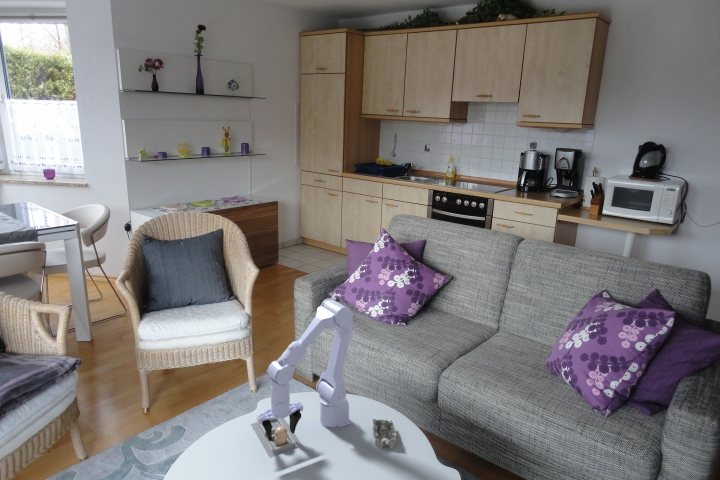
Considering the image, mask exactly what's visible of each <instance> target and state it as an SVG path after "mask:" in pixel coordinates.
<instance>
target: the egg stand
mask: <svg viewBox="0 0 720 480" xmlns="http://www.w3.org/2000/svg"><path fill="white" fill-rule="evenodd" d="M270 422H271V425H272V433H271V434H272V441H270V442H269V440H268V438H267V434H266V431H265V429H264V427H263V425H262V424H259V423H258V421H256V422H253V423H250V426H251V428H252V430H253V431H254V433H255V434H256V436H257V438H258V440H259V441H260V444H261V445H262V447H263V449H264V450H265V452H266V454H267V456H268V457H269V458H272V457H276V456H279V455H280V454H284V453H287V452H290V451H292V450H296V449H297V448H300V447H304V446H303V443H302V442H301V441H300V439H299V438H298V437H297V434H296V433H295V432H294V433H293V434H292V432H291V431H290V424H289V423H288V422H287V421H286V418H281V419H271V420H270ZM278 427H284V428H286V430H287V444H286V445H283V446H280V447H277V446H276V445H275V430H276V429H277V428H278Z"/></svg>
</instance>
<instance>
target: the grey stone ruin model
mask: <svg viewBox="0 0 720 480" xmlns="http://www.w3.org/2000/svg"><path fill="white" fill-rule="evenodd" d="M378 428H379V430H380V431H379V433H380V436H382V437H385V438H382V439H381V440H380V439H379V433H378ZM388 428H389V429H390V430H389V431H390V433H389V434H390V436H391V439H390V440H389V439H388V438H386V436H388ZM372 435H373V438H374V445H375V446H377V447H379V448H380V449H383V447H384V446H387V447H389V448H391V449H392V448H393V447H394V446H396V444H397V431H396V426H395V425H394V422H393V420H388V419H385V420H384V419H375V418H373V420H372Z"/></svg>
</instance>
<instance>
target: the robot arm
mask: <svg viewBox="0 0 720 480" xmlns="http://www.w3.org/2000/svg"><path fill="white" fill-rule="evenodd" d="M353 318H354V312H353V311H352V309H350V308H349V307H348V306H345V305H343V304H342V303H340V302H338V301H336V300H335V299H333V298H331V297H329V298H325V299H324V300H323V301H322V303H321V304H320V306H318V307H317V310H316V314H315V317H314V318H313V319H312V321H311V323H310V324H309V325H308V326H307V328H306V329H305V331H304V332H303V334H301V337H299V339H298V340H295V341H291V343H289V345H288V346H287V347H286V349H285V350H284V351H283V353H282V354H281V355H280V357H279V358H278V359H276V360H272V362H271V363H270V364H269V366H268V367H267V369H266V371H265V372H266V375H268V377H269V379H270V380H269V381H270V408H269V409H268V410H265V411H264V412H262V413H261V414H259V415H256V422H258V423H259V424H262V425H263V427H264V429H265V431H266V434H267V438H268V440H269V442H270V441H272V434H271V433H272V425H271V422H270V420H271V419H281V418H284V419H286V418H287V417H289V426H290V431H291V432H292V434H293V433H294V434H295V432H296V429H297V425H298V423H299V421H300V419H301V418H302V413H301V412H303V411H304V404H302V402H301V401H300V402H296V403H294V402H293V403H290V401H291V400H290V399H291V397H290V381H291V380H292V379H293V377H294V373H295V371H296V368H297V366H298V365H300V362H302V360H303V359H304V358H305V356H306V355H308V354H307V353H308V351H307V350H308V347H309V346H310V345H311V344H312V343H313V341H315V339H317V337H318V336H320V334H321V333H322V332H324V330H326V329H335V331H334V335H333V340H332V344H331V349H330V353H329V358H328V361H327V363H328V364H327V367H326V371H324V372H323V373H321V374H320V377H319V380H318V381H317V383H316V386H315V391H316V392H317V394H318V395H319V399H320V400H319V403H320V404H319V422H320V424H321V425H322V426H323V427H326V428H335V427H339V428H343V427H346V426H348V425H350V424H351V423H350V421H349V418H350V416H349V415H350V405H349V401H348V399H347V391H346V388H347V383H346V380H345V379H344V376H343V373H344V370H345V365H346V360H347V355H348V351H349V346H350V341H351V338H352V333H353V329H354V322H353Z"/></svg>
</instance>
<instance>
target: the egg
mask: <svg viewBox="0 0 720 480" xmlns="http://www.w3.org/2000/svg"><path fill="white" fill-rule="evenodd" d="M286 444H287V430H286V428H284V427H278V428H277V429H276V430H275V445H276V446H277V447H280V446H283V445H286Z"/></svg>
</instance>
